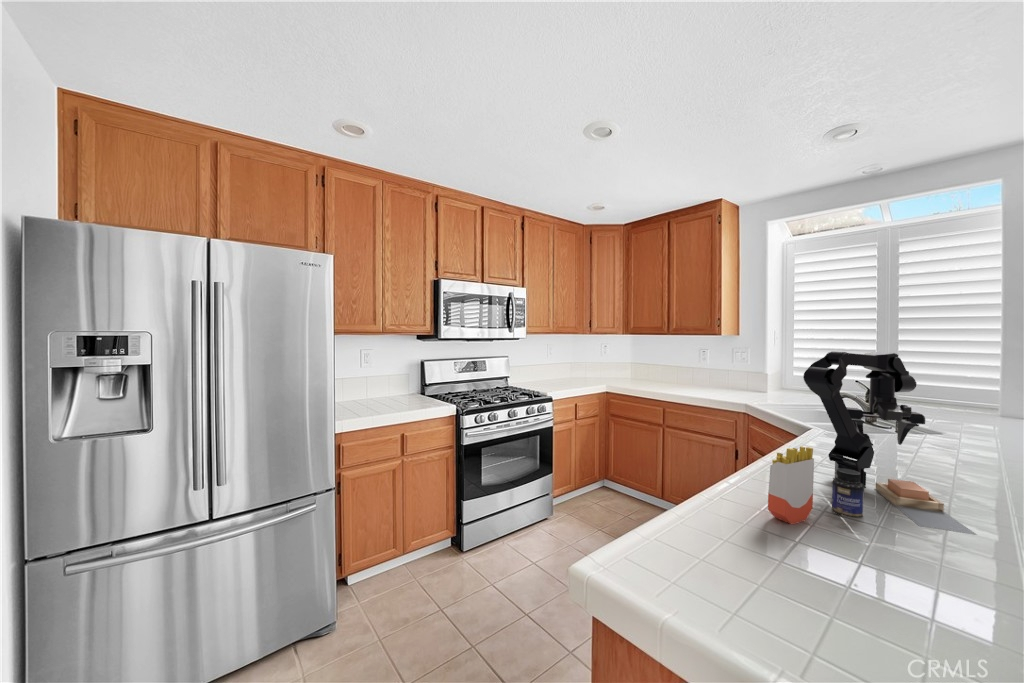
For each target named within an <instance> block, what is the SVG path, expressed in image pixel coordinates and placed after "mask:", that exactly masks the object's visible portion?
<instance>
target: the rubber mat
mask: <svg viewBox="0 0 1024 683" xmlns="http://www.w3.org/2000/svg"><path fill="white" fill-rule="evenodd" d="M874 491H876V492H877V493H878V494H880V495H881V496H882V497H883V498H885V499H886V501H888V502H889V503H890V504H891V505H893V506H894V507H895V508H896V509H898V510H899V512H901V513H903V515H905V516H907V518H908V519H910V520H911V521H912V522H914V523H915V524H916V525H917V526H919V527H924V528H929V529H930V528H931V529H937V530H943V531H951V532H956V533H963V534H970V535H976V536H977V535H978V534H977V533H976V532H974V531H972V530H971V529H970V528H968V527H967V526H966V525H964V524H963V523H961V522H959V521H958V520H957V519H956V518H954V517H952V516H951V515H950V514H949V513H947V512H945V511H944V512H939V511H932V510H925V509H918V508H910V507H903V506H896V505H894V504H893V503H892V502H890V501H889V500H888V499H887V498H886V497H884V496H883V495H882V494H881V493H880V492H878V491H877V490H876V488H874Z"/></svg>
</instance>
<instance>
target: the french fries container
mask: <svg viewBox="0 0 1024 683" xmlns="http://www.w3.org/2000/svg"><path fill="white" fill-rule="evenodd" d="M785 452H786V454H785V455H786V456H783V453H782V452H781V453H780V452H776V459H771V460H772V464H771V465H770V466H769V480H768V492H767V494H768V495H767V510H768V511H769V512H770V514H771V515H772V516H773V518H775V517H776V519H778V520H780V521H782V520H783V521H782V522H785V523H787V522H788V524H790V525H795V524H798V522H799V523H801V521H802V522H805V521H806V520H807V519H808V517H809V515H810V514H811V513H812V510H813V509H814V507H813V506H814V505H813V504H814V480H815V479H814V474H815V458H813V453H814V448H813V447H808V446H807V447H804V446H799V450H798V448H795V447H793V448H790V447H789V448H786V451H785ZM804 520H805V521H804Z"/></svg>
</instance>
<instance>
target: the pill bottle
mask: <svg viewBox="0 0 1024 683" xmlns="http://www.w3.org/2000/svg"><path fill="white" fill-rule="evenodd" d="M836 474H837V478H835V477H833V478H834V479H833V478H832V486H831V487H832V490H831V511H832V512H833V513H834V515H836V516H839V517H842V516H844V517H849V518H856V519H857V518H863V516H864V515H863V514H864V513H863V512H864V495H865V494H864V493H865V492H864V491H865V488H864V486H863V484H862V483H861V482H859V479H860V478H861V474H860V473H859V472H857V471H854V470H850V469H844V468H839V469H837V472H836Z"/></svg>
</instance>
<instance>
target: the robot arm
mask: <svg viewBox="0 0 1024 683" xmlns="http://www.w3.org/2000/svg"><path fill="white" fill-rule="evenodd" d="M833 365H835V366H837V367H836V368H830V367H832V366H833ZM848 366H859V367H863V368H864V369H867V370H870V372H869V373H867V374H866V375H865V378H866V379H869V380H870V381H869V394H867V396H868V399H869V402H868V403H869V405H868V407H867V411H866V410H862V409H861V408H858V407H851V406H850V407H849V406H848V407H847V406H846V404H845V401H844V399H843V397H842V394H841V392H840V391H841V389H842V386H843V380H844V378H845V377H846V376H847V373H848V372H847V371H848V370H847V368H848ZM803 382H804V383H805V385H806V386H807V388H809V390H810V391H811V392H813V393H814V394H816V395H817V397H819V399H820V401H821V403H822V405H823V407H824V410H825V411H826V413H827V415H828V418H829V419H830V422H831V424H832V426H833V429H834V431H835V433H836V438H835V440H834V444H835V445H834V447H833V448H832V449H831V450H830V451H829V453H828V454H827V455H828V459H829V461H832V462H834V477H832V480H833V479H834V478H837V474H836V472H837V469H839V468H844V469H850V470H854V471H857V472H859V473H860V474H861V478H860V479H859V482H861V483H862V484H863V486H864V489H866V488H867V487H866V485H867V471H866V470H865V469H871V466H872V463H873V459H874V457H875V450H874V443H872V440H871V438H870V436H869V434H868V433H864V423H865V420H863V419H862V418H877V419H881V420H883V421H887V422H889V421H896V422H897V435H896V436H897V438H896V440H897V445H900V446H902V444H903V442H904V440H905V439H906V437H907V435H908V433H909V432H910V431H911V430H912V429H914V428H915V427H919V426H920V425H926V416H924V415H923V414H922V413H919V412H917V411H912V406H911V405H910V404H898V401H897V398H896V397H895V396H896V395H895V393H910V392H913V391H914V390H915V389H916V387H917V382H916V379H915V378H914V377H913V376H912V375H910V372H909V370H907V369H906V367H905V365H904V362H903V361H902V359H901V358H900V356H899V354H897V353H895V352H893V353H892V352H875V351H874V352H867V353H864V354H862V353H851V352H850V353H849V352H847V351H834V350H833V351H832V350H831V351H829V352H827V353H826V355H824V357H822V358H820V359H817V361H815V362H812V363H811V364H810V366H808V367H807V369H806V370H805V371H804V373H803Z"/></svg>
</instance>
